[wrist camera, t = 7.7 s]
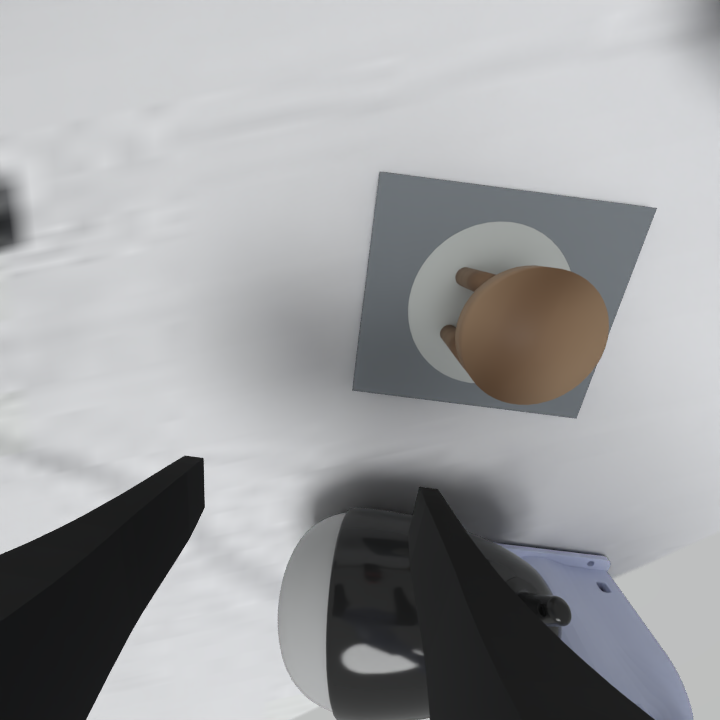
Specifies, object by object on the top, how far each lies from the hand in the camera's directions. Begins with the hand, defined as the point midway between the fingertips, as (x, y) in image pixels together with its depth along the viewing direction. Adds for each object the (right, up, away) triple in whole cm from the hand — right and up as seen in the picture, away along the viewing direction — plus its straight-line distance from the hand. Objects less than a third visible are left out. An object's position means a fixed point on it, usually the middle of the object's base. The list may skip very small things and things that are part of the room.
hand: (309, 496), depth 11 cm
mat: (+9, +8, +8) cm, 14 cm away
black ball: (-3, -10, +10) cm, 14 cm away
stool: (+9, +7, +7) cm, 13 cm away
